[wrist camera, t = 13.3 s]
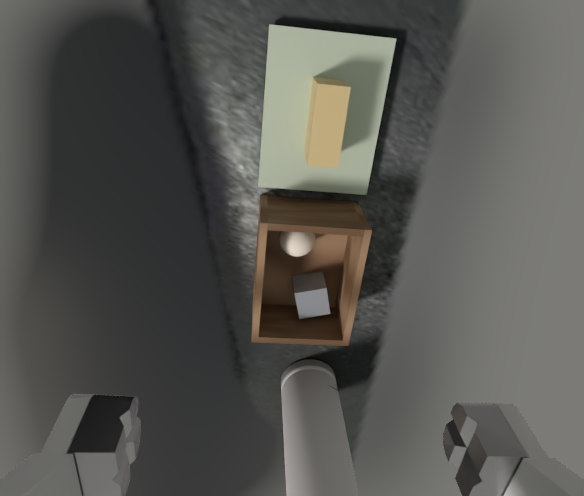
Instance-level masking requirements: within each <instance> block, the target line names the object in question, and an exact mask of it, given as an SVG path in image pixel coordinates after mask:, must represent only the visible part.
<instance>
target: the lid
mask: <svg viewBox="0 0 584 496" xmlns="http://www.w3.org/2000/svg"><path fill="white" fill-rule="evenodd" d="M395 44H396V39H395V38H388V37H379V36H370V35H361V34H352V33H343V32H334V31H326V30H317V29H308V28H299V27H290V26H281V25H272V24H269V36H268V50H267V65H266V79H265V94H264V108H263V123H262V137H261V152H260V166H259V181H258V187H266V188H280V189H293V190H307V191H320V192H333V193H347V194H360V195H367V190H368V185H369V179H370V174H371V169H372V164H373V159H374V153H375V148H376V143H377V138H378V133H379V127H380V122H381V117H382V112H383V107H384V101H385V96H386V91H387V86H388V80H389V75H390V70H391V65H392V60H393V54H394V49H395Z"/></svg>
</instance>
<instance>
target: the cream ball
mask: <svg viewBox="0 0 584 496" xmlns="http://www.w3.org/2000/svg"><path fill="white" fill-rule="evenodd" d="M279 240H280V245H281V247H282V249H283V250H284V251H285V252H286V253H287V254H289V255H291V256H295V257H299V256H303V255H306V254H307V253H309V252H310V251H311V250H312V248H313V246H314V243H315V234H314V233H302V232H287V231H281V233H280V238H279Z"/></svg>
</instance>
